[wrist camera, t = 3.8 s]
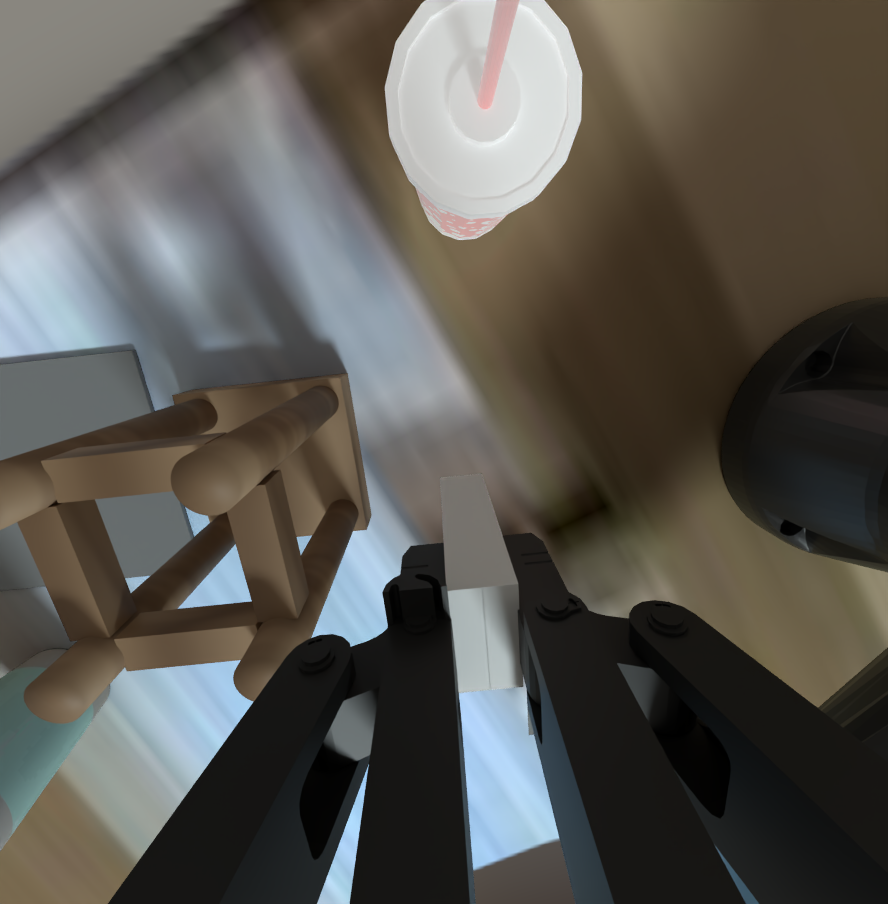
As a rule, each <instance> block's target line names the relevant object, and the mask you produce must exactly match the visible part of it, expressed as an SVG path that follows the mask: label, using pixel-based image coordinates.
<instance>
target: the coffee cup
mask: <svg viewBox="0 0 888 904" xmlns="http://www.w3.org/2000/svg"><path fill="white" fill-rule="evenodd" d="M66 651H67V650H65V649H50V650H46V651H42V652H40V653H38V654H36V655H34V656H33V657H31V658H30V659H28V660H27V661H26V662H24V663H23V664H21V665H20V666H18V667H17V668H15V669H14V670H12V671H11V672H9V673H8V674H6V675H5V676H3V677H2V678H0V851H1V849H2V848H3V846H4V845H5V844H6V842H7V841H8V839H9V838H10V837H11V835H12V834H13V832H14V831H15V829H16V828H17V827H18V825H19V824H20V822H21V821H22V820H23V818H24V817H25V815H26V814H27V812H28V811H29V810H30V808H31V807H32V805H33V804H34V803H35V801H36V800H37V798H38V797H39V795H40V794H41V793H42V791H43V790H44V788H45V787H46V786H47V784H48V783H49V781H50V780H51V778H52V777H53V776H54V774H55V773H56V771H57V770H58V768H59V767H60V766H61V764H62V763H63V761H64V760H65V759H66V757H67V756H68V754H69V753H70V751H71V750H72V749H73V747H74V746H75V744H76V743H77V742H78V740H79V739H80V737H81V736H82V734H83V733H84V732H85V730H86V729H87V727H88V726H89V724H90V723H91V722H92V720H93V719H94V717H95V716H96V714H97V713H98V712H99V710H100V709H101V707H102V706H103V704H104V703H105V701H106V700H107V698H108V696H109V692H110V685H108V686H107V687H106V689H105V690H104V691H103V692H102V693H101V694H100V695H99V696H98V697H97V699H96V700H95V701H94V702H93V703H92V704H91V705H90V706H89V707H88V709H87V710H86V711H85V712H84V713H83V714H82V715H81V716H80V717H79V718H78V719H77V720H75V721H73V722H70V723H65V724H57V723H51V722H48V721H45V720H43V719H41V718H39V717H37V716H36V715H34V714H33V713H32V712H31V711H30V710H29V709H28V707H27V706H26V704H25V702H24V691H25V689H26V687H27V686H28V685H29V684H30V683H31V682H32V681H33V680H35V679H36V678H37V677H38V676H39V675H40V674H41V673H42V672H44V671H45V670H46V669H47V668H48V667H49V666H50V665H51V664H53V663H54V662H55V661H56V660H57V659H58V658H59V657H60V656H61V655H63V654H64V653H65V652H66Z"/></svg>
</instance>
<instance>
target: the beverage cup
mask: <svg viewBox="0 0 888 904" xmlns="http://www.w3.org/2000/svg"><path fill="white" fill-rule="evenodd" d="M385 96H386V107H387V117H388V128H389V136H390V139H391V141H392V144H393V146H394V149H395V151H396V153H397V155H398V157H399V160H400V162H401V164H402V166H403V168H404V171H405V173H406V175H407V177H408V179H409V181H410V182H411V183H412V184H413V185H414V186H415V188H416V190H417V193H418V196H419V199H420V202H421V205H422V207H423V209H424V211H425V213H426V216H427V218H428V220H429V222H430V223H431V224H432V225H433V226H434V227H435V228H436V229H438V230H439V231H440V232H441V233H442V234H443V235H446V236H449V237H451V238H454V239H457V240H466V239H476V238H478V237H480V236H481V235H483V234H485V233H487V232H489V231H491V230H492V229H493V228H494V227H495V226H496V225H497V224H498V223H499V222H500V221H501V220H502V219H503V218H504V217H505V216H506V215H507V214H509V213H510V212H512V211H514V210H516V209H518V208H519V207H521V206H523V205H525V204H527V203H529V202H530V201H532V200H534V199H535V197H537V196H538V195H539V194H540V193H541V192H542V190H543V189H544V188H545V187H546V185H547V184H548V183H549V182H550V181H551V179H552V178H553V177H554V176H555V174H556V173H557V172H558V171H559V170H560V168H561V167H562V166H563V165H564V163H565V162H566V160H567V157H568V155H569V152H570V149H571V146H572V144H573V141H574V138H575V135H576V132H577V130H578V127H579V124H580V121H581V102H582V71H581V68H580V65H579V62H578V59H577V56H576V52H575V49H574V46H573V43H572V40H571V37H570V34H569V31H568V28H567V27H566V26H565V25H564V23H563V22H562V21H561V20H560V19H559V17H558V16H557V15H556V14H555V13H554V11H553V10H552V9H551V8H550V7H549V5H548V4H547V3H546V2H545V1H544V0H426V1H424V2H423V3H422V4H421V5H420V7H419V8H418V10H417V11H416V12H415V14H414V15H413V17H412V18H411V20H410V21H409V23H408V24H407V26H406V27H405V29H404V30H403V32H402V33H401V35H400V36H399V38H398V39H397V41H396V43H395V47H394V51H393V56H392V60H391V64H390V68H389V72H388V76H387V80H386V85H385Z"/></svg>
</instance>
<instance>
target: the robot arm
mask: <svg viewBox="0 0 888 904" xmlns="http://www.w3.org/2000/svg"><path fill="white" fill-rule="evenodd" d="M722 467H723V473H724V478H725V481H726V484H727V487H728V490H729V492H730V494H731V496H732V498H733V500H734V501H735V503H736V504H737V506H738V507H739V508H740V510H741V511H742V512H743V513H744V514H745V515H746V516H747V517H748V518H749V519H750V520H751V521H753V522H754V523H755V524H757V525H758V526H760V527H761V528H763V529H765V530H766V531H768V532H769V533H771V534H773V535H774V536H776V537H777V538H779V539H781V540H782V541H784V542H786V543H788V544H790V545H792V546H794V547H796V548H798V549H801V550H804V551H806V552H809V553H813V554H816V555H820V556H824V557H828V558H832V559H836V560H840V561H844V562H848V563H852V564H856V565H860V566H864V567H868V568H872V569H876V570H880V571H884V572H888V297H885V298H870V299H863V300H858V301H854V302H849V303H846V304H843V305H839V306H837V307H834V308H831V309H829V310H827V311H824V312H822V313H820V314H818V315H816V316H814V317H812V318H810V319H809V320H807V321H805V322H804V323H802V324H800V325H799V326H798V327H796V328H795V329H793V330H792V331H790V332H789V333H788V334H787V335H785V336H784V337H783V338H782V339H780V340H779V341H778V342H777V343H776V344H775V345H774V346H773V347H772V348H771V349H770V350H769V351H768V352H767V353H766V354H765V355H764V356H763V357H762V358H761V359H760V360H759V362H758V363H757V364H756V365H755V367H754V368H753V369H752V370H751V372H750V373H749V375H748V376H747V378H746V379H745V381H744V382H743V384H742V386H741V387H740V389H739V391H738V393H737V395H736V397H735V399H734V401H733V404H732V406H731V409H730V411H729V414H728V417H727V421H726V424H725V428H724V433H723V440H722ZM440 486H441V504H442V522H443V540H444V543H437V544H427V545H417V546H411V547H410V548H409V549H408V550H407V551H406V553H405V554H404V555H403V557H402V565H401V574H400V575H399V576H397V577H395V578H393V579H392V580H391V581H390V582H389V583H388V584H386V586H385V588H384V590H383V598H384V605H385V611H386V617H387V623H388V628H387V629H386V630H385V631H384V632H383V633H382V634H380V635H379V636H377V637H376V638H373V639H371V640H369V641H366V642H364V643H361V644H358V645H355V646H352V647H350V643H349V642H348V641H347V640H346V639H345V638H343V637H341V636H337V635H333V634H330V635H319V636H316V637H313V638H310V639H308V640H306V641H304V642H303V643H301V644H299V645H298V646H296V647H295V648H294V649H293V650H292V651H291V652H290V653H289V654H288V655H287V656H286V658H285V659H284V661H283V662H282V663H281V665H280V666H279V668H278V669H277V670H276V672H275V673H274V674H273V676H272V677H271V679H270V680H269V681H268V683H267V684H266V686H265V687H264V688H263V690H262V691H261V692H260V694H259V695H258V697H257V698H256V699H255V701H254V702H253V704H252V705H251V706H250V708H249V709H248V710H247V712H246V713H245V715H244V716H243V717H242V719H241V720H240V722H239V723H238V724H237V726H236V727H235V728H234V730H233V731H232V733H231V734H230V735H229V737H228V738H227V740H226V741H225V742H224V744H223V745H222V746H221V748H220V749H219V751H218V752H217V753H216V755H215V756H214V758H213V759H212V760H211V762H210V763H209V764H208V766H207V767H206V769H205V770H204V771H203V773H202V774H201V776H200V777H199V778H198V780H197V781H196V782H195V784H194V785H193V787H192V788H191V789H190V791H189V792H188V794H187V795H186V796H185V798H184V799H183V800H182V802H181V803H180V805H179V806H178V807H177V809H176V810H175V812H174V813H173V814H172V816H171V817H170V818H169V820H168V821H167V823H166V824H165V825H164V827H163V828H162V830H161V831H160V832H159V834H158V835H157V836H156V838H155V839H154V841H153V842H152V843H151V845H150V846H149V848H148V849H147V850H146V852H145V853H144V854H143V856H142V857H141V859H140V860H139V861H138V863H137V864H136V866H135V867H134V868H133V870H132V871H131V872H130V874H129V875H128V877H127V878H126V879H125V881H124V882H123V884H122V885H121V886H120V888H119V889H118V890H117V892H116V893H115V895H114V896H113V897H112V899H111V900H110V902H109V903H108V904H317V902H318V899H319V897H320V894H321V891H322V888H323V886H324V883H325V880H326V878H327V875H328V872H329V870H330V867H331V864H332V861H333V859H334V856H335V853H336V851H337V848H338V845H339V843H340V840H341V837H342V835H343V832H344V829H345V826H346V824H347V821H348V818H349V816H350V813H351V810H352V808H353V805H354V802H355V799H356V797H357V794H358V791H359V789H360V786H361V783H362V781H363V778H364V775H365V772H366V770H367V767H368V764H369V767H368V774H367V782H366V789H365V796H364V803H363V811H362V818H361V825H360V832H359V840H358V847H357V854H356V861H355V869H354V876H353V883H352V890H351V898H350V904H476V902H475V889H474V877H473V864H472V851H471V838H470V825H469V812H468V800H467V787H466V774H465V761H464V748H463V736H462V723H461V711H460V702H459V693H464V692H474V691H484V690H495V689H505V688H515V687H523V676H524V680H525V684H526V688H527V704H528V727H529V735H533V734H534V736H535V740H536V744H537V748H538V752H539V756H540V760H541V764H542V769H543V773H544V777H545V781H546V785H547V789H548V793H549V797H550V801H551V805H552V809H553V813H554V818H555V822H556V826H557V830H558V834H559V838H560V842H561V846H562V850H563V854H564V858H565V862H566V866H567V870H568V874H569V878H570V883H571V887H572V890H573V895H574V899H575V903H576V904H888V648H887V649H886V650H884V651H883V652H882V653H881V654H880V655H879V656H877V657H876V658H875V659H874V660H873V661H872V662H871V663H869V664H868V665H867V666H866V667H865V668H864V669H862V670H861V671H860V672H859V673H858V674H857V675H855V676H854V677H853V678H852V679H851V680H850V681H849V682H847V683H846V684H845V685H844V686H843V687H842V688H840V689H839V690H838V691H837V692H836V693H835V694H834V695H832V696H831V697H830V698H829V699H828V700H827V701H825V702H824V703H823V704H822V705H821V706H820V707H819V708H817V707H816V706H814V705H813V704H812V703H810V702H809V701H808V700H806V699H805V698H804V697H803V696H801V695H800V694H799V693H797V692H796V691H795V690H793V689H792V688H791V687H790V686H788V685H787V684H786V683H784V682H783V681H782V680H780V679H779V678H778V677H777V676H775V675H774V674H773V673H771V672H770V671H769V670H767V669H766V668H765V667H763V666H762V665H761V664H760V663H758V662H757V661H756V660H754V659H753V658H752V657H750V656H749V655H748V654H747V653H745V652H744V651H743V650H741V649H740V648H739V647H737V646H736V645H735V644H733V643H732V642H731V641H730V640H728V639H727V638H726V637H724V636H723V635H722V634H720V633H719V632H718V631H717V630H715V629H714V628H713V627H711V626H710V625H709V624H707V623H706V622H705V621H704V620H702V619H701V618H700V617H698V616H697V615H696V614H694V613H693V612H691V611H689V610H687V609H686V608H684V607H682V606H679V605H676V604H673V603H670V602H665V601H656V600H654V601H646V602H641V603H639V604H637V605H636V606H634V607H633V608H632V610H631V612H630V613H629V619H627V618H620V617H612V616H605V615H601V614H597V613H594V612H591V611H589V610H588V608H587V607H586V605H585V604H584V603H583V602H582V600H581V599H580V598H578V597H576V596H575V595H573V594H571V593H569V592H568V590H567V588H566V586H565V584H564V582H563V580H562V578H561V576H560V574H559V572H558V570H557V568H556V566H555V564H554V563H553V562H552V559H551V557H550V555H549V554H548V551H547V549H546V547H545V545H544V543H543V541H542V540H540V539H539V538H538V537H536V536H535V535H533V534H532V533H525V534H515V535H505V536H502V533H501V530H500V527H499V524H498V521H497V518H496V515H495V512H494V509H493V506H492V503H491V500H490V497H489V494H488V490H487V487H486V484H485V481H484V478H483V475H482V473H480V474H470V475H460V476H450V477H440Z"/></svg>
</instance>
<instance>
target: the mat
mask: <svg viewBox="0 0 888 904" xmlns="http://www.w3.org/2000/svg"><path fill="white" fill-rule="evenodd" d="M151 412H155V411H154V408H153V405H152V402H151V399H150V395H149V392H148V389H147V386H146V383H145V380H144V376H143V373H142V370H141V367H140V364H139V360H138V357H137V354H136V351H135V350H131V351H122V352H113V353H103V354H94V355H85V356H76V357H66V358H57V359H48V360H38V361H29V362H20V363H11V364H1V365H0V461H1V460H4V459H7V458H10V457H13V456H16V455H19V454H23V453H26V452H29V451H32V450H35V449H38V448H41V447H45V446H48V445H51V444H54V443H57V442H60V441H63V440H67V439H70V438H73V437H76V436H79V435H82V434H85V433H89V432H92V431H95V430H98V429H101V428H104V427H107V426H111V425H114V424H117V423H120V422H123V421H126V420H129V419H133V418H136V417H139V416H142V415H145V414H148V413H151ZM95 501H96V504H97V506H98V509H99V512H100V514H101V517H102V519H103V522H104V525H105V527H106V530H107V533H108V535H109V538H110V541H111V543H112V546H113V548H114V551H115V554H116V556H117V559H118V562H119V564H120V567H121V569H122V572H123V575H124V577H125V578H131V577H141V576H150V575H152V574H153V573H154V572H156V571H157V570H158V569H159V568H160V567H161V566H162V565H163V564H165V563H166V562H167V561H168V560H169V559H170V558H171V557H172V556H174V555H175V554H176V553H177V552H178V551H179V550H180V549H181V548H182V547H184V546H185V545H186V544H187V543H188V542H189V541H190V540H191V539H193V538H194V536H193V533H192V529H191V526H190V523H189V520H188V517H187V513H186V510H185V507H184V505H183V504H182V503H181V502H180V501H179V500H178V499H177V497H176V496H175V494H174V492H173V491H171V492H161V493H152V494H142V495H132V496H123V497H113V498H104V499H95ZM43 586H45V584H44V581H43V579H42V577H41V575H40V572H39V570H38V568H37V566H36V563H35V561H34V559H33V557H32V555H31V552H30V550H29V548H28V546H27V543H26V541H25V539H24V537H23V534H22V532H21V530H20V528H19V526H18V523H17V522H16V523H14V524H12V525H10V526H8V527H6V528H4V529H1V530H0V591H4V590H14V589H24V588H33V587H43Z"/></svg>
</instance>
